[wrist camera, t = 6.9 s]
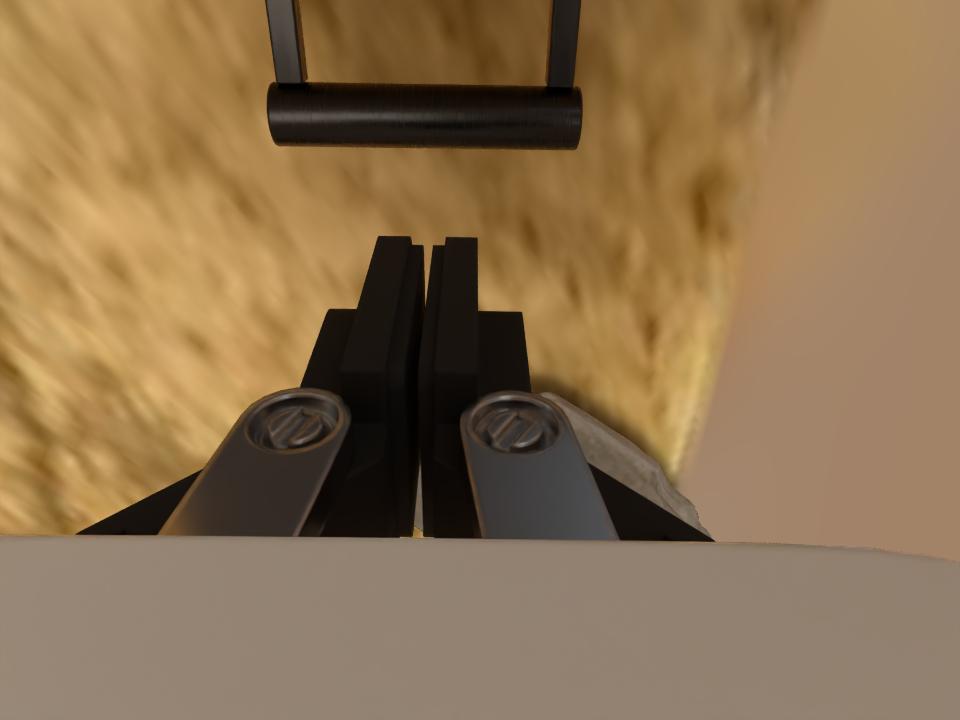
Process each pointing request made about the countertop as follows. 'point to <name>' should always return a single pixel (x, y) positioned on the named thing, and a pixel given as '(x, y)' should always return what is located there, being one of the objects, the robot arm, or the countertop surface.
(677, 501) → the stone
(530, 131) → the drawer
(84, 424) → the countertop surface
